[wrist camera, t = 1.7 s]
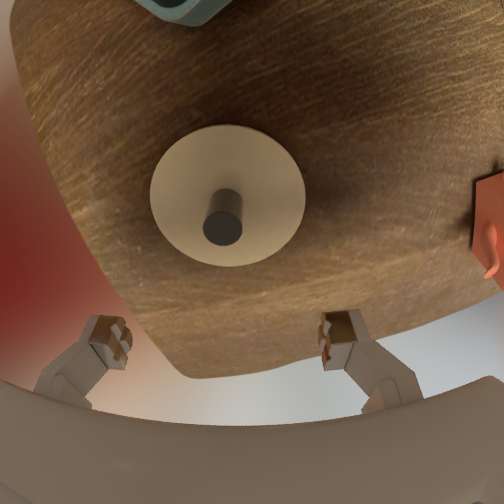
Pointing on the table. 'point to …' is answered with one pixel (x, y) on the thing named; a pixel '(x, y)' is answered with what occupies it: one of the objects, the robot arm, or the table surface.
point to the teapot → (490, 226)
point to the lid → (227, 195)
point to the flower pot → (184, 10)
